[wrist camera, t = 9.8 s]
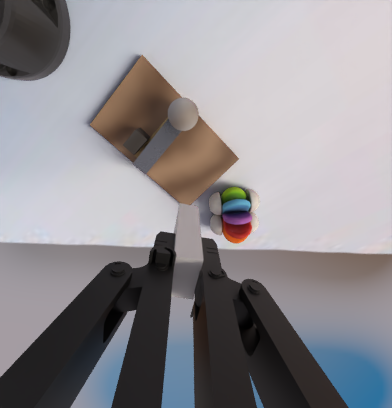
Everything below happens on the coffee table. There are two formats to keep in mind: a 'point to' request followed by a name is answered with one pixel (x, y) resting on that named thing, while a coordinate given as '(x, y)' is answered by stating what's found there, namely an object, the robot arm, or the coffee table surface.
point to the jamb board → (152, 122)
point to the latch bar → (156, 147)
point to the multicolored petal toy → (234, 213)
